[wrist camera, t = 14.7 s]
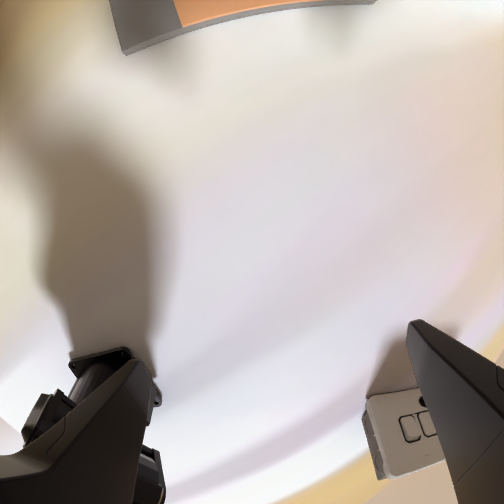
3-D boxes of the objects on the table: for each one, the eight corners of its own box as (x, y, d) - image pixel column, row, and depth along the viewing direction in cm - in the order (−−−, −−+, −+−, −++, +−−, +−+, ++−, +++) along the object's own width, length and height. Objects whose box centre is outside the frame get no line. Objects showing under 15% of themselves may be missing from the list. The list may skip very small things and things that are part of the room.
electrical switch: (433, 382, 27) (471, 441, 18) (414, 411, 29) (444, 468, 20) (365, 393, 26) (399, 468, 17) (348, 423, 28) (373, 493, 19)
